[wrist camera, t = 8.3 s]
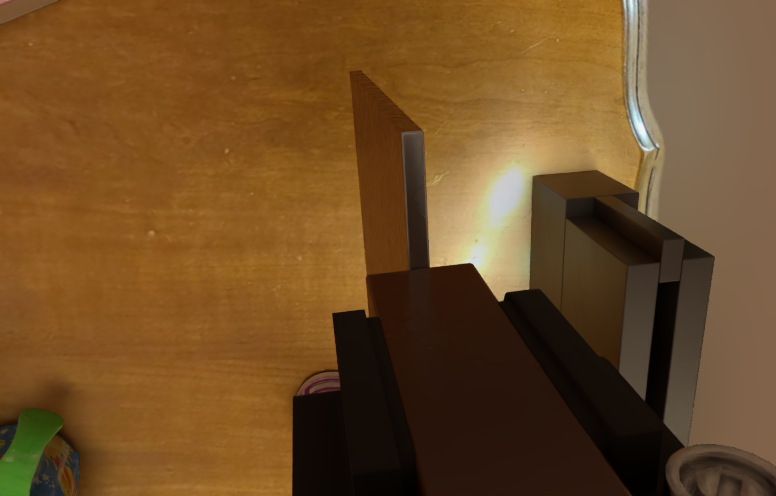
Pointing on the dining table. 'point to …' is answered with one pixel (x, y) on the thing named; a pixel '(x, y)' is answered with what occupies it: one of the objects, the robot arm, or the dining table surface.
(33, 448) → the snack cup
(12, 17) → the sponge cake
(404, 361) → the kitchen knife
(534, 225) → the knife block
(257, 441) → the dining table surface
